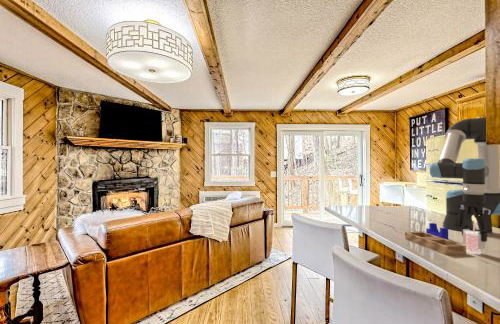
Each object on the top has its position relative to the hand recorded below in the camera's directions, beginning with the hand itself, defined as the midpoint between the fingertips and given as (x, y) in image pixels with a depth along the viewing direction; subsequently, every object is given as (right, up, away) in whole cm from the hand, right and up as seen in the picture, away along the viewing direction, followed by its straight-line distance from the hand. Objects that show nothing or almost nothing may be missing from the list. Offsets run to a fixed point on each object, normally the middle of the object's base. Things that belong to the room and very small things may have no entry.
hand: (473, 245), depth 115 cm
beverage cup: (0, -3, 0) cm, 3 cm away
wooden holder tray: (-11, -3, +10) cm, 15 cm away
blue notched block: (+2, -3, +25) cm, 25 cm away
